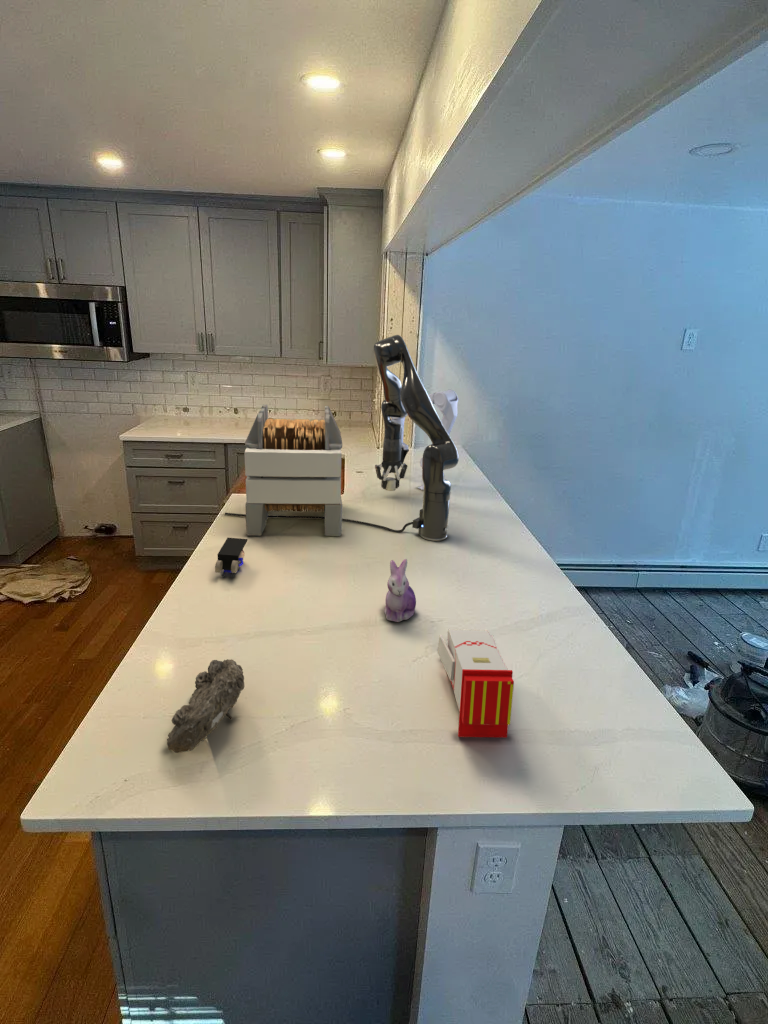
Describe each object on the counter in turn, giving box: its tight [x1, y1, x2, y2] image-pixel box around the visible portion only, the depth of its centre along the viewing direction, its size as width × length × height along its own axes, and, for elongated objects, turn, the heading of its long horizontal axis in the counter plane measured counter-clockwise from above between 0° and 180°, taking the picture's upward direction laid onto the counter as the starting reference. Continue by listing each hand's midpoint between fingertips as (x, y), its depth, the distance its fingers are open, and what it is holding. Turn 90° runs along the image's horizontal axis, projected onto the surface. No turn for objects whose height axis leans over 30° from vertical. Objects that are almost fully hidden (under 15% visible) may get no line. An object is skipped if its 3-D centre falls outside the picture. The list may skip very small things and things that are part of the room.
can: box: [384, 476, 397, 492], centre depth 237 cm, size 5×5×4 cm
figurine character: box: [214, 537, 248, 578], centre depth 166 cm, size 7×8×15 cm
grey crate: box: [244, 404, 343, 537], centre depth 202 cm, size 34×33×41 cm
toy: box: [437, 628, 515, 738], centre depth 117 cm, size 12×13×30 cm
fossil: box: [166, 658, 245, 754], centre depth 106 cm, size 22×10×15 cm
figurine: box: [384, 558, 417, 623], centre depth 145 cm, size 9×10×15 cm
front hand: (390, 488), depth 237 cm, fingers closed on can, 4 cm apart
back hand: (395, 461), depth 259 cm, fingers open, 7 cm apart
